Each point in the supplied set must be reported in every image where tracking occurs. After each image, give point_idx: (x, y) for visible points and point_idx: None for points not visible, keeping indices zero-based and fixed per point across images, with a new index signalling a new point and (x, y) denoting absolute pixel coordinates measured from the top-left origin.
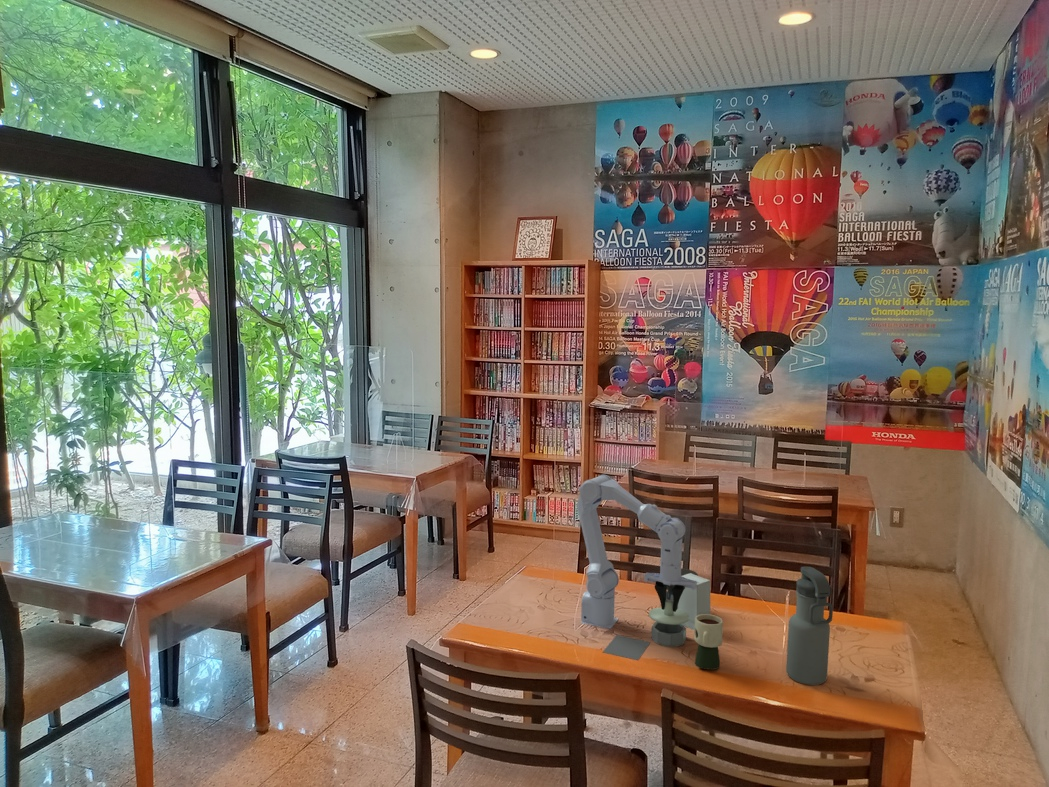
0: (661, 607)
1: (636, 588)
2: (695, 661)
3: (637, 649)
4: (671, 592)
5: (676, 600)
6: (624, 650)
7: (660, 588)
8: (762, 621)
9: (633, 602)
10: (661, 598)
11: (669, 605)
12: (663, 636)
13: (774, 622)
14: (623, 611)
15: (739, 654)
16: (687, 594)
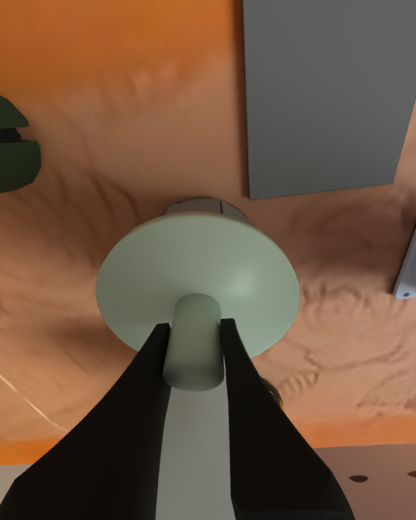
0: (235, 325)
1: (360, 430)
2: (17, 117)
3: (279, 95)
4: None
5: (117, 388)
6: (336, 37)
7: (257, 501)
8: (83, 414)
9: (358, 386)
10: (239, 375)
11: (181, 343)
12: (197, 210)
13: (65, 418)
14: (379, 343)
15: (4, 278)
16: (181, 450)
